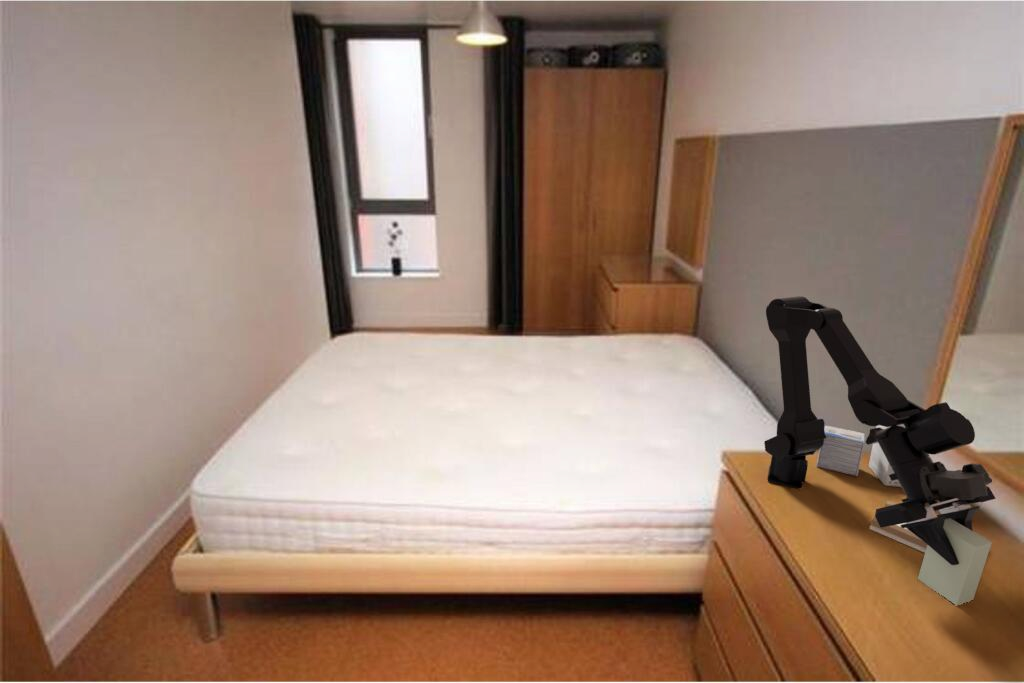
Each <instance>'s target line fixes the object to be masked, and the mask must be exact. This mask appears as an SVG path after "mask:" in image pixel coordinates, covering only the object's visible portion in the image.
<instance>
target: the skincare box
mask: <svg viewBox="0 0 1024 683" xmlns="http://www.w3.org/2000/svg"><path fill="white" fill-rule="evenodd" d="M896 426H902V427H904V428H905V426H904V424H900V425H896ZM879 427H880V428H882V429H886V428H889V427H885V426H881V425H879V426H875V428H879ZM868 467H869V468H870V470H871V471H872V472H873V473H874V474H875V476H876V477H877V478H878V479H879V481H880V482H881V483H882V484H883V485H884V486H888V487H896V488H897V487H898V488H902V487H901V485H900V483H899V481H898V480H893V481H891V479H890V477H889V475H890V474H894V472H893V470H892V468H891V466H890V464H889V462H888V460H887V458H886V456H885V455H884V453H883V451H882V449H881V447H880V445H879V443H874V444H872V447H871V452H870V458H869V463H868Z"/></svg>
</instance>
